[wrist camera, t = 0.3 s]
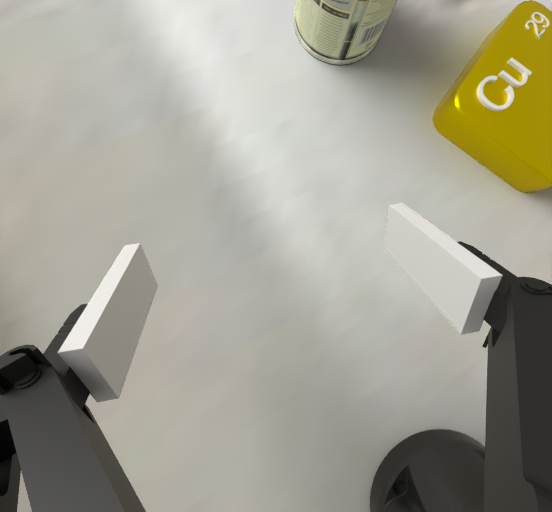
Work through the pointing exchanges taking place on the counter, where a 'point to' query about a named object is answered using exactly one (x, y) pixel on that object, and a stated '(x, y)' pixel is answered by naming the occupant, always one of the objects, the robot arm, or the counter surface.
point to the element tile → (507, 101)
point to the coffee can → (340, 27)
